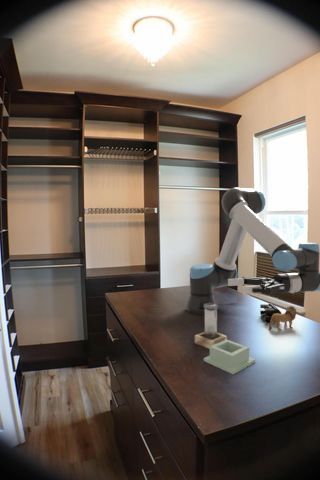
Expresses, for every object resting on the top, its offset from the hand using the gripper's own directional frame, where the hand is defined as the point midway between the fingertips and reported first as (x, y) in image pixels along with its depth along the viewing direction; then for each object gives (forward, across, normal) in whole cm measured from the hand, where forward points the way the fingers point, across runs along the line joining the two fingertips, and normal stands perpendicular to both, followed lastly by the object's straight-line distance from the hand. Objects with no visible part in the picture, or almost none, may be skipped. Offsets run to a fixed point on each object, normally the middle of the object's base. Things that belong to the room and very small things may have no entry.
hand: (235, 286), depth 121 cm
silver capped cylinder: (+10, 0, -22) cm, 24 cm away
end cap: (-26, +20, -22) cm, 39 cm away
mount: (+10, 0, -22) cm, 24 cm away
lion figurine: (-26, +9, -22) cm, 35 cm away
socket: (+9, -16, -22) cm, 28 cm away
